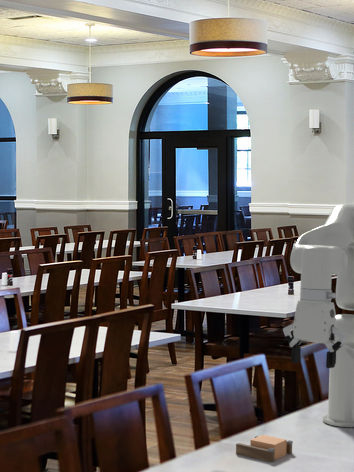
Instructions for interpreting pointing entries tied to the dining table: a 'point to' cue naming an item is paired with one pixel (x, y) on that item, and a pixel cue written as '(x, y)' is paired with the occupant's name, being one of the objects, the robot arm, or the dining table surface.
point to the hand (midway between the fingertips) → (312, 365)
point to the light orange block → (271, 444)
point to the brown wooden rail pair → (260, 451)
